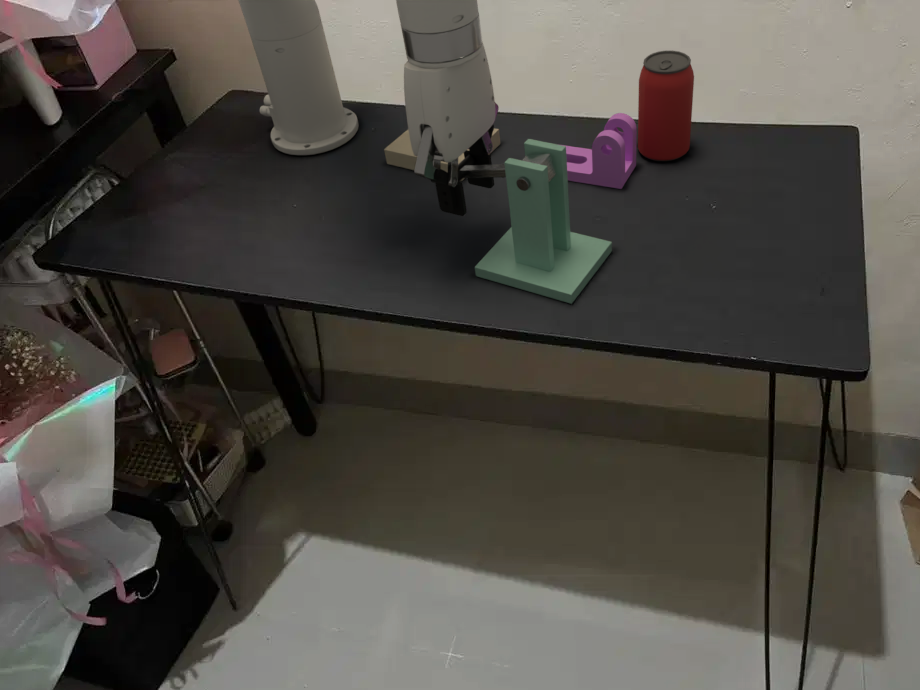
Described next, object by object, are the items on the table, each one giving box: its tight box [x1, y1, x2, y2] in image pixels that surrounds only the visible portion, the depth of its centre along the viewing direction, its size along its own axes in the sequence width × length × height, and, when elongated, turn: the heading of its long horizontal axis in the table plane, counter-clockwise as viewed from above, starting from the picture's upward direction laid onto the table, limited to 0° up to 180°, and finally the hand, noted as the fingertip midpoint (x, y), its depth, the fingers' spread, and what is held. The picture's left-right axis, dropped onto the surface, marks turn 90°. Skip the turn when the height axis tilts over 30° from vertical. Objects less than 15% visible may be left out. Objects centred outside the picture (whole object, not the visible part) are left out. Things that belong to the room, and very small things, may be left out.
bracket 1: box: [474, 138, 613, 305], centre depth 89 cm, size 12×10×14 cm
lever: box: [458, 154, 556, 182], centre depth 88 cm, size 12×5×2 cm, turn 59°
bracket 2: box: [561, 112, 638, 190], centre depth 104 cm, size 13×6×7 cm, turn 64°
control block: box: [383, 127, 501, 182], centre depth 111 cm, size 12×10×4 cm
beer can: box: [637, 50, 695, 162], centre depth 104 cm, size 7×7×12 cm
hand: (467, 197), depth 93 cm, fingers closed on lever, 5 cm apart
